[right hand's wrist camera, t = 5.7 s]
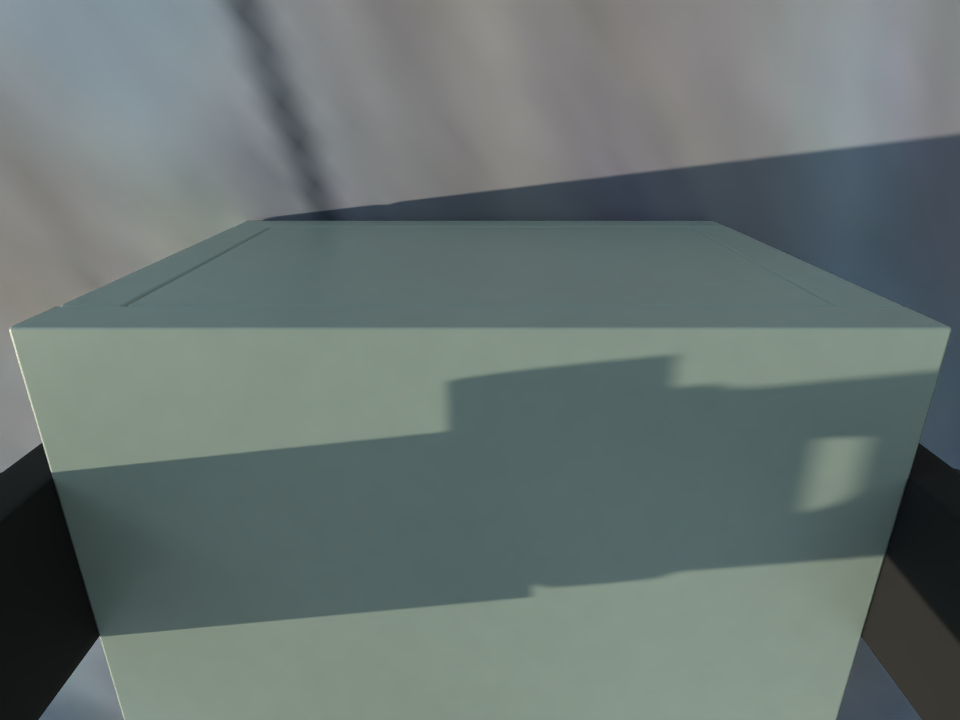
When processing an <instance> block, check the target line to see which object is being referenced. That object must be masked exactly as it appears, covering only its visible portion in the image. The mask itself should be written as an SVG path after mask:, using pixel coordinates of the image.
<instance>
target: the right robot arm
mask: <svg viewBox="0 0 960 720" xmlns="http://www.w3.org/2000/svg"><path fill="white" fill-rule="evenodd" d="M98 637H99V633H98V629H97V626H96V623H95V619H94V616H93V612H92V609H91V606H90V602H89V599H88V595H87V592H86V589H85V585H84V582H83V579H82V575H81V572H80V568H79V565H78V562H77V558H76V555H75V552H74V548H73V545H72V541H71V538H70V535H69V531H68V528H67V524H66V521H65V518H64V514H63V511H62V508H61V504H60V501H59V497H58V494H57V491H56V487H55V484H54V481H53V477H52V474H51V470H50V467H49V464H48V460H47V457H46V453H45V450H44V447H43V443H41V444H40V445H39V446H37V447H36V448H35V449H33V450H32V451H31V452H29V453H28V454H27V455H25V456H24V457H23V458H21V459H20V460H18V461H17V462H16V463H14V464H13V465H12V466H10V467H9V468H8V469H6V470H5V471H4V472H2V473H0V720H38V719H39V718H40V717H41V715H42V714H43V712H44V711H45V710H46V708H47V707H48V706H49V704H50V703H51V702H52V700H53V699H54V697H55V696H56V695H57V693H58V692H59V691H60V689H61V688H62V687H63V685H64V684H65V682H66V681H67V680H68V678H69V677H70V676H71V674H72V673H73V671H74V670H75V669H76V667H77V666H78V665H79V663H80V662H81V661H82V659H83V658H84V656H85V655H86V654H87V652H88V651H89V650H90V648H91V647H92V646H93V644H94V643H95V641H96V640H97V639H98ZM862 638H863V639H864V641H865V642H866V643H867V645H868V646H869V647H870V649H871V650H872V651H873V653H874V654H875V656H876V657H877V658H878V660H879V661H880V662H881V664H882V665H883V666H884V668H885V669H886V671H887V672H888V673H889V675H890V676H891V677H892V679H893V680H894V681H895V683H896V684H897V686H898V687H899V688H900V690H901V691H902V692H903V694H904V695H905V696H906V698H907V699H908V701H909V702H910V703H911V705H912V706H913V707H914V709H915V710H916V711H917V713H918V714H919V716H920V717H921V718H922V720H960V470H958V469H953V468H952V467H950V466H949V465H948V464H946V463H945V462H944V461H942V460H941V459H940V458H938V457H937V456H936V455H934V454H933V453H932V452H930V451H929V450H928V449H926V448H925V447H923V446H922V445H921V444H918V447H917V451H916V454H915V457H914V461H913V464H912V468H911V471H910V474H909V478H908V481H907V484H906V488H905V491H904V495H903V498H902V501H901V505H900V508H899V511H898V515H897V518H896V522H895V525H894V528H893V532H892V535H891V538H890V542H889V545H888V549H887V552H886V555H885V559H884V562H883V565H882V569H881V572H880V576H879V579H878V582H877V586H876V589H875V592H874V596H873V599H872V603H871V606H870V609H869V613H868V616H867V619H866V623H865V626H864V630H863V633H862Z"/></svg>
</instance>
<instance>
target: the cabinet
mask: <svg viewBox="0 0 960 720" xmlns="http://www.w3.org/2000/svg"><path fill="white" fill-rule="evenodd" d="M9 332H10V335H11V339H12V342H13V345H14V349H15V352H16V355H17V359H18V362H19V366H20V369H21V372H22V376H23V379H24V382H25V386H26V389H27V393H28V396H29V399H30V403H31V406H32V410H33V413H34V416H35V420H36V423H37V426H38V430H39V433H40V437H41V440H42V443H43V447H44V450H45V453H46V457H47V460H48V464H49V467H50V470H51V474H52V477H53V481H54V484H55V487H56V491H57V494H58V497H59V501H60V504H61V508H62V511H63V514H64V518H65V521H66V524H67V528H68V531H69V535H70V538H71V541H72V545H73V548H74V552H75V555H76V558H77V562H78V565H79V568H80V572H81V575H82V579H83V582H84V585H85V589H86V592H87V595H88V599H89V602H90V606H91V609H92V612H93V616H94V619H95V623H96V626H97V629H98V633H99V636H100V639H101V643H102V646H103V650H104V653H105V656H106V660H107V663H108V666H109V670H110V673H111V677H112V680H113V683H114V687H115V690H116V693H117V697H118V700H119V704H120V707H121V710H122V714H123V717H124V720H837V717H838V714H839V711H840V707H841V704H842V700H843V697H844V694H845V690H846V687H847V684H848V680H849V677H850V673H851V670H852V667H853V663H854V660H855V657H856V653H857V650H858V646H859V643H860V640H861V636H862V633H863V630H864V626H865V623H866V619H867V616H868V613H869V609H870V606H871V603H872V599H873V596H874V592H875V589H876V586H877V582H878V579H879V576H880V572H881V569H882V565H883V562H884V559H885V555H886V552H887V549H888V545H889V542H890V538H891V535H892V532H893V528H894V525H895V522H896V518H897V515H898V511H899V508H900V505H901V501H902V498H903V495H904V491H905V488H906V484H907V481H908V478H909V474H910V471H911V468H912V464H913V461H914V457H915V454H916V451H917V447H918V444H919V441H920V437H921V434H922V430H923V427H924V424H925V420H926V417H927V414H928V410H929V407H930V403H931V400H932V397H933V393H934V390H935V387H936V383H937V380H938V376H939V373H940V370H941V366H942V363H943V360H944V356H945V353H946V349H947V346H948V343H949V339H950V336H951V333H952V328H951V327H949V326H947V325H945V324H942V323H940V322H938V321H936V320H934V319H931V318H929V317H927V316H925V315H922V314H920V313H918V312H916V311H914V310H911V309H909V308H907V307H902V305H899V304H897V303H895V302H893V301H891V300H888V299H886V298H884V297H882V296H879V295H877V294H875V293H873V292H871V291H868V290H866V289H864V288H862V287H860V286H857V285H855V284H853V283H851V282H849V281H846V280H844V279H842V278H840V277H837V276H835V275H833V274H831V273H829V272H826V271H824V270H822V269H820V268H818V267H815V266H813V265H811V264H809V263H806V262H804V261H802V260H800V259H798V258H795V257H793V256H791V255H789V254H787V253H784V252H782V251H780V250H778V249H776V248H773V247H771V246H769V245H767V244H764V243H762V242H760V241H758V240H756V239H753V238H751V237H749V236H747V235H745V234H742V233H740V232H738V231H736V230H734V229H731V228H729V227H726V226H724V225H721V224H719V223H717V222H715V221H246V222H244V223H242V224H240V225H237V226H235V227H233V228H231V229H228V230H226V231H224V232H222V233H220V234H217V235H215V236H213V237H211V238H209V239H206V240H204V241H202V242H200V243H198V244H195V245H193V246H191V247H189V248H186V249H184V250H182V251H180V252H178V253H175V254H173V255H171V256H169V257H167V258H164V259H162V260H160V261H158V262H156V263H153V264H151V265H149V266H147V267H145V268H142V269H140V270H138V271H136V272H134V273H131V274H129V275H127V276H125V277H123V278H120V279H118V280H116V281H114V282H112V283H109V284H107V285H105V286H103V287H101V288H98V289H96V290H94V291H92V292H90V293H87V294H85V295H83V296H81V297H78V298H76V299H74V300H72V301H70V302H67V303H65V304H63V305H61V306H60V307H54V308H52V309H50V310H47V311H45V312H43V313H41V314H39V315H36V316H34V317H32V318H30V319H27V320H25V321H23V322H21V323H19V324H16V325H14V326H12V327H10V329H9Z"/></svg>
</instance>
